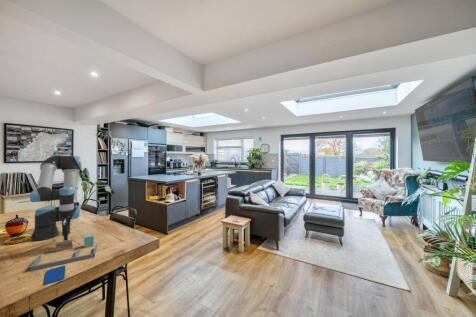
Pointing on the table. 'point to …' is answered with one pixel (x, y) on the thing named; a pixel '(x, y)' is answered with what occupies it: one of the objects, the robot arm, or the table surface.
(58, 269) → the smartphone
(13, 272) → the table surface
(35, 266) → the slot rack
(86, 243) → the teal block
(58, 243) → the walnut block
